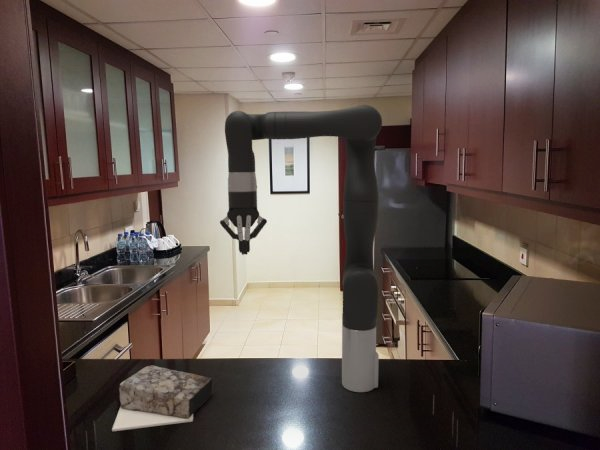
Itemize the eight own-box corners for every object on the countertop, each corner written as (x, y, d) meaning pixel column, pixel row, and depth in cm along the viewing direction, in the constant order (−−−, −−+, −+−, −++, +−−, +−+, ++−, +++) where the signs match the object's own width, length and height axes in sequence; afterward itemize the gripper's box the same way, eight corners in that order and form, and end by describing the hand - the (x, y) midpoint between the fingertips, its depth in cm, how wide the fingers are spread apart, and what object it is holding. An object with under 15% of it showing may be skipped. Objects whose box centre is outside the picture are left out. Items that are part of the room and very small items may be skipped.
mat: (194, 397, 113) (194, 395, 113) (192, 421, 102) (192, 419, 102) (121, 405, 109) (121, 403, 109) (112, 431, 98) (112, 429, 98)
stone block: (189, 393, 101) (117, 380, 107) (187, 422, 101) (116, 408, 107) (214, 374, 114) (149, 363, 119) (213, 400, 114) (148, 388, 119)
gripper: (265, 188, 118) (266, 250, 121) (216, 189, 116) (219, 252, 118) (269, 189, 111) (270, 255, 113) (217, 190, 108) (219, 258, 111)
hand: (244, 253), depth 116 cm, fingers closed
